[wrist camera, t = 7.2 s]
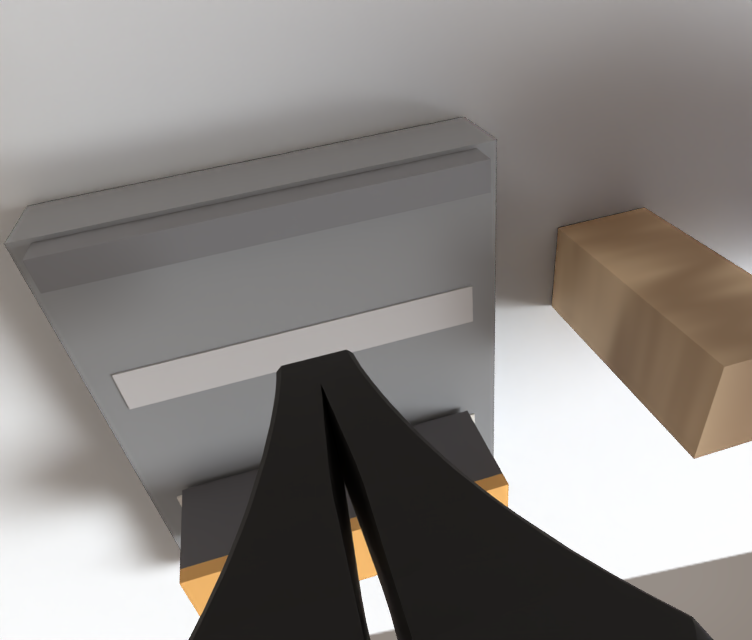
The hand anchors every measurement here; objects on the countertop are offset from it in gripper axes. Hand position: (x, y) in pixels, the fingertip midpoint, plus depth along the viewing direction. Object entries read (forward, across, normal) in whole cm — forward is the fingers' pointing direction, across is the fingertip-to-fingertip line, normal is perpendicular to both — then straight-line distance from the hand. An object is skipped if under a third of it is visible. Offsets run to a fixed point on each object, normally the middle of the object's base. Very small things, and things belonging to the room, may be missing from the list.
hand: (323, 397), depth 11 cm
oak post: (+6, -10, +3) cm, 12 cm away
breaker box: (+6, 0, +5) cm, 8 cm away
